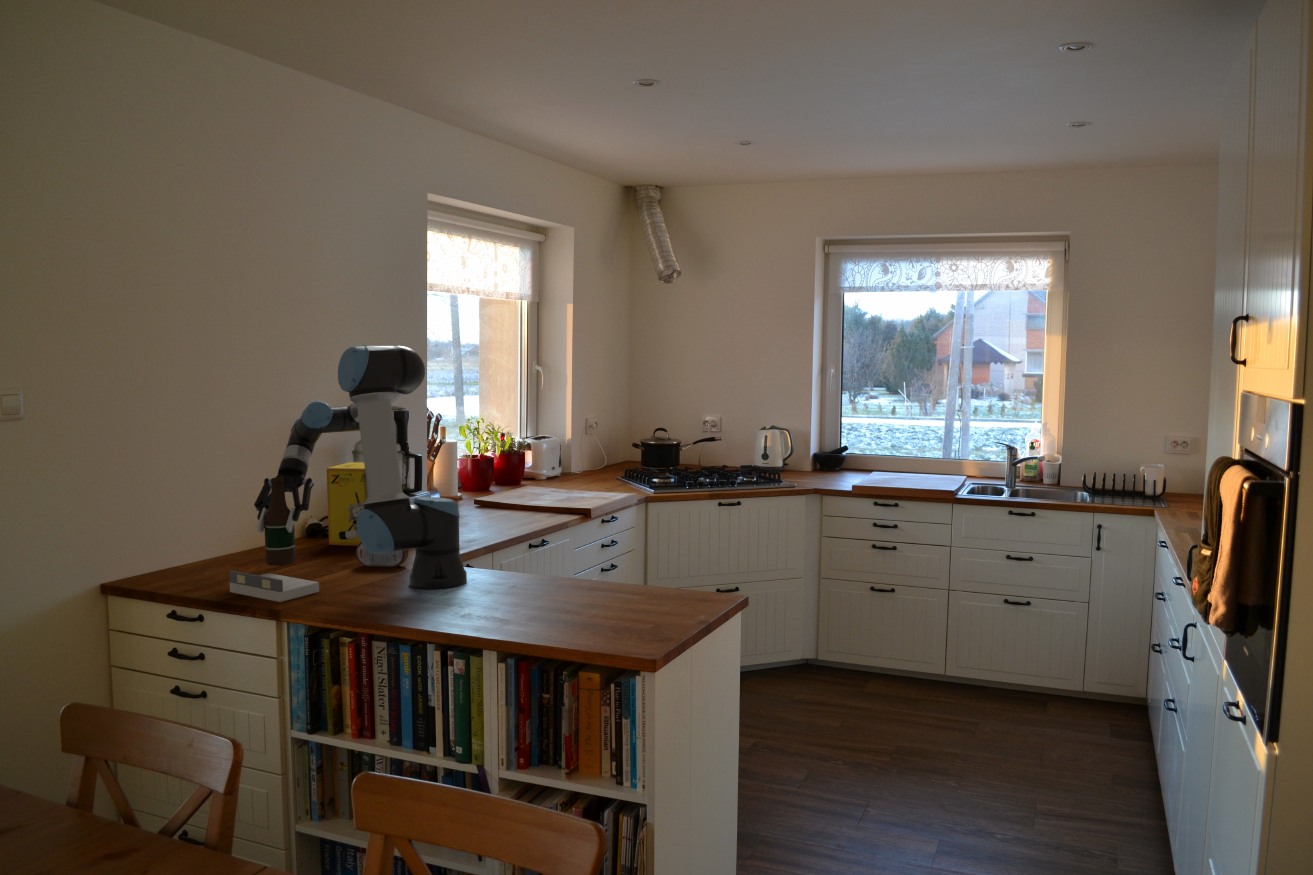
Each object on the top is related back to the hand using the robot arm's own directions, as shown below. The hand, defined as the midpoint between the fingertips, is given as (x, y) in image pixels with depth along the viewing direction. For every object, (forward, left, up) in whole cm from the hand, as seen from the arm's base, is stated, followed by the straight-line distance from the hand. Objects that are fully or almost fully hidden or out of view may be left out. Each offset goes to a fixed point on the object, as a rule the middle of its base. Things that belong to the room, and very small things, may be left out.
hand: (274, 529), depth 266 cm
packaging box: (+19, -49, -14) cm, 54 cm away
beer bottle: (+2, -3, -10) cm, 11 cm away
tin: (-15, -25, -14) cm, 32 cm away
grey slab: (-13, +10, -14) cm, 21 cm away
